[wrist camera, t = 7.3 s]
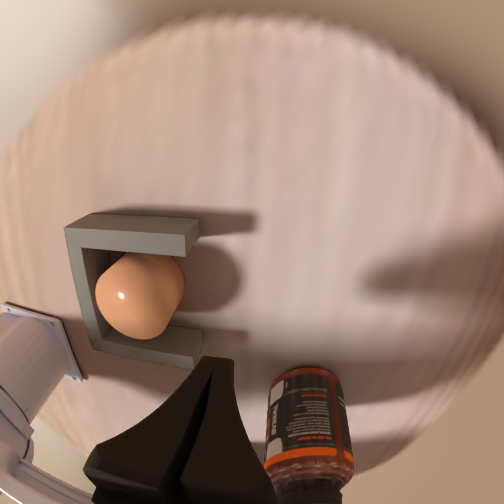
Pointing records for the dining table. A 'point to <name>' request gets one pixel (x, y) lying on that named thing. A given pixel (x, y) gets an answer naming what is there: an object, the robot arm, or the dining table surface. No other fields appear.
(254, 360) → the dining table surface
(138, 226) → the dock
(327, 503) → the supplement bottle
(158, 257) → the tan rounded knob
